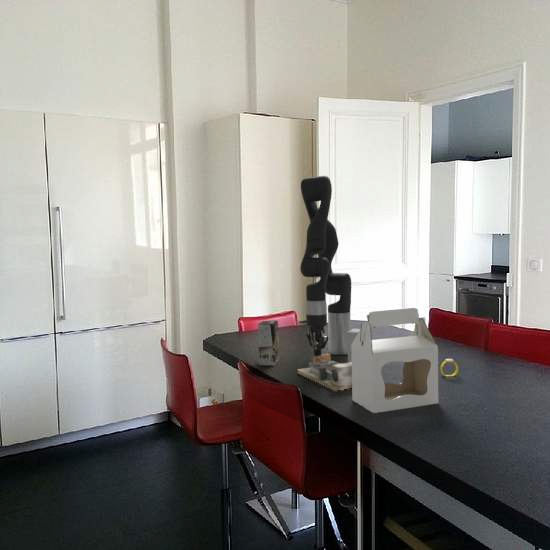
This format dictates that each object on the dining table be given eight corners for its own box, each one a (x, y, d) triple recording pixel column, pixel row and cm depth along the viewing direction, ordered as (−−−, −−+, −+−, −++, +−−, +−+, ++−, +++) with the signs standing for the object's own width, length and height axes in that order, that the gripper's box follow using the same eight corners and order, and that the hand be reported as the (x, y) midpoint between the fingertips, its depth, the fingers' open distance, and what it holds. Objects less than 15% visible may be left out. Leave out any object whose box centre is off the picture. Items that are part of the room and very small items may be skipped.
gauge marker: (325, 377, 195) (324, 366, 194) (326, 377, 194) (326, 367, 193) (319, 378, 194) (319, 367, 193) (320, 378, 193) (320, 368, 192)
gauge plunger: (328, 366, 209) (328, 353, 208) (336, 370, 204) (336, 356, 203) (303, 370, 205) (303, 356, 204) (311, 374, 200) (310, 360, 199)
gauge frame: (333, 367, 214) (333, 348, 214) (373, 385, 191) (373, 362, 190) (297, 373, 208) (297, 353, 208) (334, 391, 185) (333, 368, 184)
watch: (442, 378, 197) (441, 361, 197) (439, 376, 200) (438, 359, 199) (459, 376, 198) (458, 359, 197) (456, 374, 200) (455, 357, 200)
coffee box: (275, 365, 220) (273, 324, 219) (258, 365, 222) (257, 324, 220) (279, 360, 229) (278, 320, 228) (263, 359, 230) (262, 320, 229)
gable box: (414, 391, 182) (413, 304, 180) (439, 403, 170) (438, 309, 167) (351, 400, 175) (349, 309, 173) (372, 413, 163) (370, 316, 160)
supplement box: (371, 361, 223) (370, 329, 222) (366, 365, 216) (365, 332, 215) (353, 359, 226) (352, 328, 225) (347, 364, 219) (346, 331, 218)
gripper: (334, 313, 204) (335, 361, 206) (316, 309, 216) (317, 354, 218) (316, 316, 201) (317, 364, 202) (298, 311, 213) (300, 357, 214)
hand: (317, 359), depth 210 cm, fingers closed
